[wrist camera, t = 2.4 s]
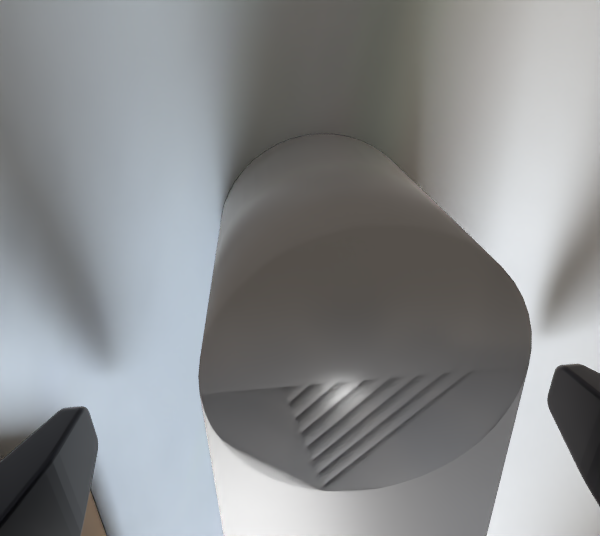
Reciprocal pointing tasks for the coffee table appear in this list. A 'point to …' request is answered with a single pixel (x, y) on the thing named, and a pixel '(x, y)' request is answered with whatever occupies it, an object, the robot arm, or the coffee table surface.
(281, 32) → the coffee table surface
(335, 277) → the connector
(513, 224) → the coffee table surface
